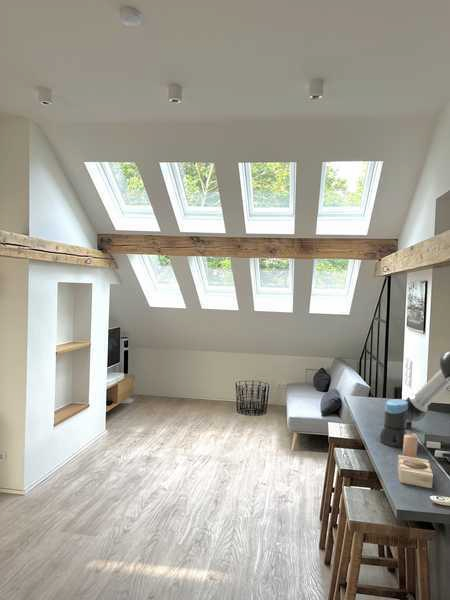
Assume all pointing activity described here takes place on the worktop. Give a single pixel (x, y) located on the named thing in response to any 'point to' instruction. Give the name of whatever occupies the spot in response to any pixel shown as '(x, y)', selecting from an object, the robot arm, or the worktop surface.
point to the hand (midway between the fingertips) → (430, 448)
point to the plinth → (414, 471)
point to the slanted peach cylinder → (410, 445)
